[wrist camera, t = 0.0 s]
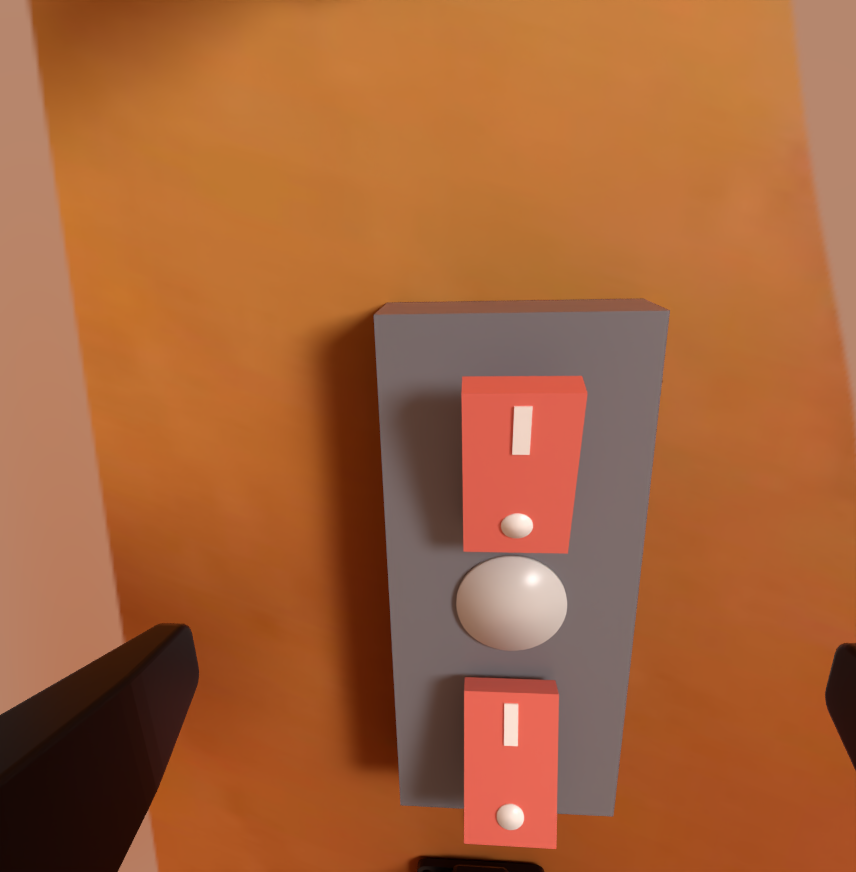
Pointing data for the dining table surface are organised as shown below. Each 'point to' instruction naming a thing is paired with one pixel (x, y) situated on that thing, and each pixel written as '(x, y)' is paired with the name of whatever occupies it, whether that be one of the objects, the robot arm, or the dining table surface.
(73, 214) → the dining table surface
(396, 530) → the switch panel
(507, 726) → the switch
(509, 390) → the switch
